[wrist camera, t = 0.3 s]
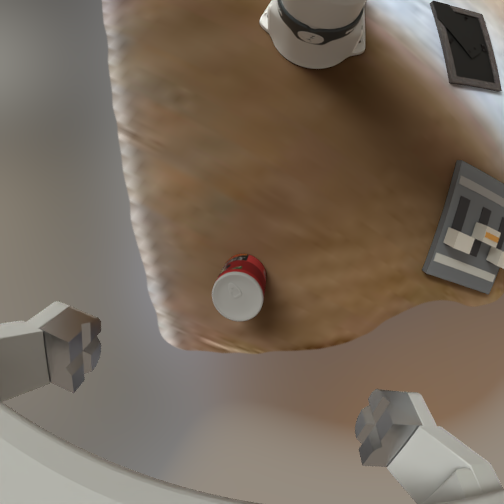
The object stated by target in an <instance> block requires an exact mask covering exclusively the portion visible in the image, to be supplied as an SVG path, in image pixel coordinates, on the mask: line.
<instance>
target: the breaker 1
mask: <svg viewBox="0 0 504 504" xmlns="http://www.w3.org/2000/svg"><path fill="white" fill-rule="evenodd" d="M474 240H475V238H473V237H471V236H468V235H466V234H464V233H462V232H459V231H457V230H455V229H452V228H450V227H448V230H447V233H446V236H445V239H444V242H443V243H445V244H447V245H449V246H451V247H452V248H455V249H457V250H460V251H462V252H465V253H467V254H470V251H471V248H472V245H473V243H474Z"/></svg>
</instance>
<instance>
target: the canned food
mask: <svg viewBox="0 0 504 504" xmlns="http://www.w3.org/2000/svg"><path fill="white" fill-rule="evenodd" d="M265 284H266V271H265V268H264V266H263V265H262V263H261V262H260V261H259V260H258V259H257V258H255V257H254V256H251V255H248V254H238V255H235V256H233V257H231V258H230V259H229V260H228V261H227V262H226V264H225V265H224V267H223V269H222V271H221V273H220V274H219V276H218V278H217V280H216V282H215V284H214V287H213V290H212V300H213V303H214V305H215V307H216V309H217V310H218V312H219V313H220V314H222V315H223V316H224V317H226V318H228V319H230V320H233V321H247V320H250V319H252V318H253V317H255V316H256V315H257V314H258V313H259V311H260V310H261V307H262V305H263V301H264V294H265Z"/></svg>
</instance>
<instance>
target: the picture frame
mask: <svg viewBox="0 0 504 504" xmlns="http://www.w3.org/2000/svg"><path fill="white" fill-rule="evenodd" d="M430 6H431V9H432V12H433V15H434V19H435V22H436V26H437V30H438V33H439V37H440V41H441V45H442V49H443V54H444V58H445V63H446V68H447V73H448V78H449V83H453V84H460V85H466V86H472V87H478V88H483V89H489V90H494V91H502V90H501V85H500V80H499V75H498V70H497V65H496V61H495V57H494V53H493V49H492V45H491V41H490V38H489V34H488V31H487V27H486V24H485V21H484V18H483V15H482V14H479V13H476V12H472V11H469V10H465V9H461V8H458V7H454V6H450V5H448V4H444V3H440V2H436V1H433V2H431V3H430Z"/></svg>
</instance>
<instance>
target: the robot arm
mask: <svg viewBox="0 0 504 504" xmlns="http://www.w3.org/2000/svg"><path fill="white" fill-rule="evenodd" d="M366 1H367V0H272V1H271V2H270V4H269V5H268V7H267V8H266V10H265V12H264V13H263V15H262V16H261V18H260V25H261V27H262V28H263V29H264V30H265V31H266V32H268V33H269V34H270V36H271V38H272V41H273V43H274V45H275V47H276V48H277V50H278V51H279V52H280V53H281V54H282V55H283V56H284V57H285V58H286V59H288V60H289V61H291V62H292V63H294V64H297V65H299V66H302V67H306V68H312V69H322V68H328V67H332V66H334V65H337V64H338V63H340V62H342V61H343V60H344V59H346V58H347V57H349V56H354V55H359V54H362V53H363V52H364V50H365V9H364V5H365V3H366ZM359 41H360V43H359ZM100 332H101V321H100V319H99V318H98V317H95V316H93V315H90V314H88V313H86V312H83V311H81V310H78V309H76V308H74V307H71V306H69V305H67V304H64V303H62V302H58V301H57V302H56V301H55V302H54V303H53V304H51V305H50V306H48V307H47V308H45V309H44V310H43V311H41V312H40V313H38V314H37V315H36V316H34V317H33V318H32V319H30V320H28V321H27V322H24V321H15V322H9V323H1V324H0V504H259V503H253V502H248V501H242V500H237V499H231V498H227V497H221V496H217V495H213V494H208V493H204V492H200V491H196V490H193V489H189V488H185V487H181V486H178V485H175V484H171V483H168V482H165V481H162V480H159V479H156V478H153V477H150V476H147V475H144V474H141V473H139V472H136V471H133V470H130V469H128V468H125V467H123V466H120V465H117V464H115V463H113V462H110V461H108V460H106V459H103V458H101V457H99V456H97V455H94V454H92V453H90V452H88V451H86V450H84V449H82V448H79V447H77V446H75V445H73V444H71V443H69V442H67V441H66V440H64V439H62V438H60V437H58V436H56V435H54V434H52V433H51V432H49V431H47V430H45V429H43V428H42V427H40V426H38V425H37V424H35V423H33V422H32V421H30V420H28V419H27V418H25V417H23V416H22V415H20V414H19V413H17V412H16V411H14V410H13V409H11V408H9V407H8V406H7V405H5V404H4V403H2V402H3V401H5V400H8V399H11V398H14V397H16V396H19V395H21V394H24V393H27V392H29V391H32V390H34V389H37V388H40V387H42V386H45V385H47V384H50V382H51V383H53V384H55V385H57V386H59V387H61V388H64V389H66V390H68V391H70V392H72V393H74V392H75V391H76V390H77V389H78V388H79V386H80V385H81V384H82V382H84V374H85V373H88V372H92V371H93V369H94V368H95V367H96V365H97V363H98V360H99V358H100V353H101V343H100V341H99V339H98V337H97V335H98V334H99V333H100ZM368 400H369V406H367V407H365V408H364V409H362V410H361V412H360V414H359V416H358V418H357V421H356V426H355V434H356V438H357V439H358V440H359V441H360V442H361V443H362V445H361V447H360V448H359V452H360V457H361V462H362V465H365V466H382V467H383V466H384V467H387V469H388V470H389V471H390V472H391V474H392V475H393V476H394V477H395V478H396V480H397V481H398V482H399V483H400V484H401V486H402V487H403V488H404V489H405V490H406V491H407V493H408V494H409V495H410V496H411V497H412V499H414V501H415V502H416V503H417V504H504V489H503V487H502V485H501V483H500V481H499V479H498V477H497V475H496V473H495V471H494V469H493V467H492V466H491V464H490V463H489V462H488V461H487V460H485V459H484V458H483V457H481V456H480V455H478V454H477V453H476V452H474V451H473V450H472V449H470V448H469V447H468V446H466V445H465V444H463V443H462V442H461V441H459V440H458V439H457V438H456V437H454V436H453V435H451V434H450V433H449V432H448V431H446V430H445V429H444V428H442V427H441V426H437V425H436V423H435V421H434V419H433V417H432V415H431V413H430V411H429V409H428V407H427V405H426V403H425V402H424V400H423V398H422V396H421V394H419V393H416V392H399V391H389V390H380V389H376V390H375V391H373V392H372V394H371V395H370V397H369V399H368Z"/></svg>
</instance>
